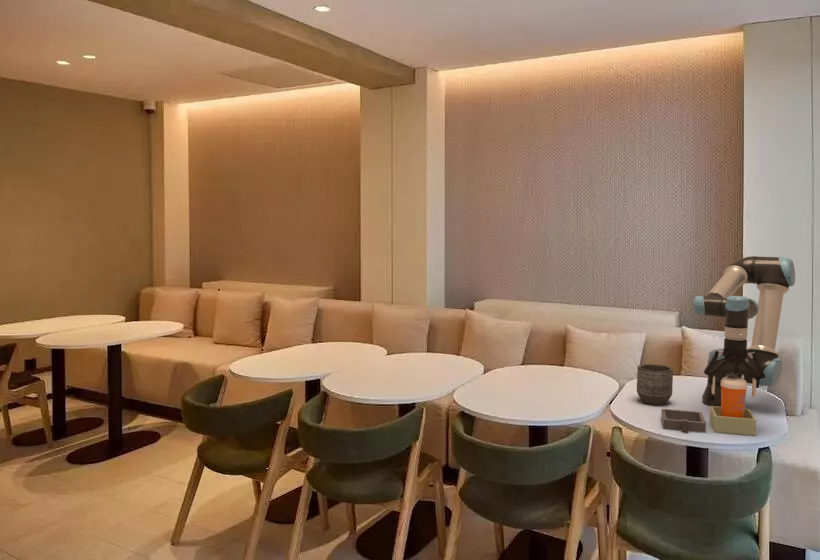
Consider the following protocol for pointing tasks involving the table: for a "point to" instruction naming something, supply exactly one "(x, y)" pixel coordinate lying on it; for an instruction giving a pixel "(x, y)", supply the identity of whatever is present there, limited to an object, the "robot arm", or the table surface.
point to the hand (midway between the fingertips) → (733, 395)
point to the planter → (654, 383)
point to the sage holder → (732, 422)
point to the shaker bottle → (733, 395)
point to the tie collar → (683, 420)
